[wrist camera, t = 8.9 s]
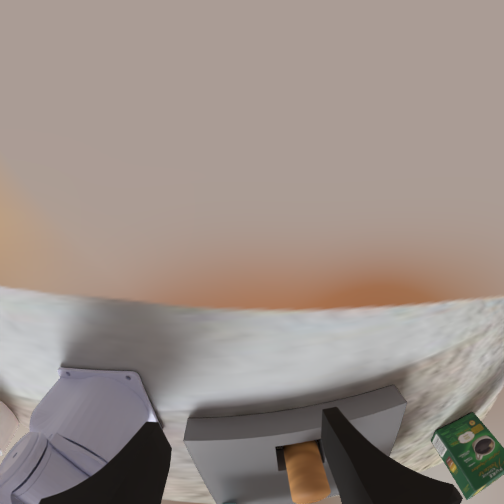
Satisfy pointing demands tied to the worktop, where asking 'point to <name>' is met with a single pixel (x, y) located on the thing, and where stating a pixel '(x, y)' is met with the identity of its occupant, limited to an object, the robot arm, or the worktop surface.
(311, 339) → the worktop surface
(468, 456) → the coffee box
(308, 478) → the peg
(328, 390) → the worktop surface
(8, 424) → the white cube
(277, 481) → the socket stand
